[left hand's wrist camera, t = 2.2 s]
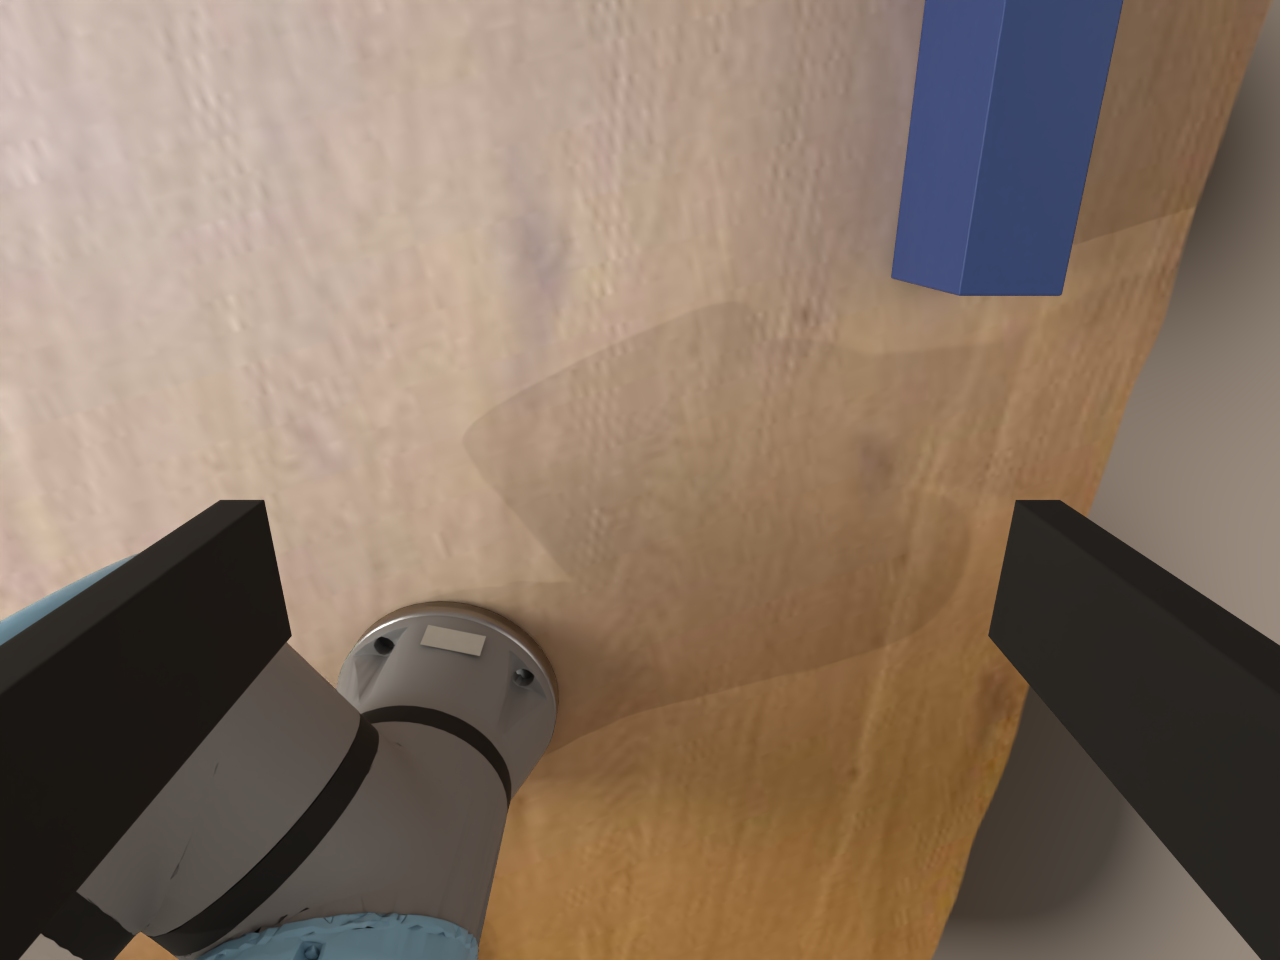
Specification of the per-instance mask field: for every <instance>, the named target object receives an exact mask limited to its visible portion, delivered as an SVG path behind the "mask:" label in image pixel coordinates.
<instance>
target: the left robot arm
mask: <svg viewBox="0 0 1280 960" xmlns="http://www.w3.org/2000/svg"><path fill="white" fill-rule="evenodd" d="M291 636H292V635H291V630H290V625H289V620H288V615H287V610H286V605H285V600H284V595H283V590H282V586H281V581H280V576H279V571H278V566H277V561H276V556H275V551H274V546H273V541H272V536H271V531H270V527H269V522H268V517H267V512H266V507H265V502H264V500H220V501H218V502H217V503H215V504H214V505H212V506H211V507H209V508H207V509H206V510H204V511H203V512H201V513H200V514H198V515H197V516H195V517H194V518H192V519H191V520H189V521H188V522H186V523H185V524H183V525H182V526H180V527H179V528H177V529H176V530H174V531H173V532H171V533H170V534H168V535H167V536H165V537H164V538H162V539H161V540H159V541H158V542H156V543H155V544H153V545H152V546H150V547H149V548H147V549H146V550H144V551H142V552H141V553H139V554H136V555H133V556H130V557H128V558H125V559H123V560H121V561H118V562H116V563H114V564H112V565H109V566H107V567H105V568H103V569H101V570H98V571H96V572H94V573H92V574H90V575H88V576H86V577H84V578H82V579H80V580H78V581H76V582H74V583H72V584H70V585H68V586H66V587H64V588H62V589H60V590H58V591H56V592H54V593H52V594H50V595H48V596H46V597H45V598H43V599H41V600H39V601H37V602H35V603H33V604H31V605H30V606H28V607H26V608H24V609H22V610H20V611H18V612H16V613H15V614H13V615H11V616H9V617H7V618H6V619H4V620H2V621H0V960H114V959H115V958H116V956H117V955H118V954H119V953H120V952H121V951H122V950H123V949H124V948H125V946H126V945H127V944H128V943H129V942H130V941H131V940H132V939H133V937H134V936H136V934H138V933H139V932H140V931H141V932H142V933H144V934H145V935H147V936H148V937H150V938H151V939H153V940H154V941H155V942H157V943H158V944H159V945H161V946H162V947H163V948H165V949H166V950H167V951H169V952H170V953H171V954H172V955H174V956H175V957H176V958H178V959H179V960H477V958H478V951H479V949H478V947H479V942H480V937H481V933H482V928H483V924H484V919H485V914H486V910H487V905H488V901H489V896H490V891H491V887H492V882H493V878H494V873H495V868H496V864H497V859H498V855H499V850H500V846H501V841H502V836H503V832H504V827H505V823H506V817H507V813H508V808H509V804H510V801H511V799H512V798H513V796H514V795H515V794H516V792H517V791H518V789H519V788H520V787H521V785H522V784H523V782H524V781H525V780H526V778H527V777H528V775H529V774H530V772H531V771H532V770H533V768H534V767H535V765H536V764H537V763H538V761H539V760H540V758H541V757H542V755H543V754H544V752H545V750H546V749H547V747H548V745H549V743H550V741H551V738H552V735H553V731H554V727H555V722H556V716H557V711H558V702H559V697H558V686H557V681H556V677H555V674H554V671H553V669H552V666H551V664H550V663H549V661H548V659H547V657H546V655H545V654H544V652H543V651H542V649H541V648H540V647H539V646H538V645H537V643H536V642H535V641H534V640H533V639H532V638H531V637H530V636H529V635H528V634H527V633H526V632H524V631H523V630H522V629H521V628H520V627H518V626H517V625H515V624H514V623H512V622H511V621H509V620H507V619H506V618H504V617H502V616H500V615H498V614H496V613H494V612H491V611H489V610H486V609H483V608H480V607H476V606H473V605H468V604H463V603H456V602H426V603H420V604H415V605H411V606H407V607H404V608H401V609H399V610H396V611H394V612H392V613H390V614H388V615H386V616H384V617H383V618H381V619H380V620H378V621H377V622H376V623H374V624H373V625H372V626H371V627H370V628H369V629H368V630H367V631H366V632H365V633H364V634H363V635H362V636H361V638H360V639H359V640H358V642H357V643H356V645H355V646H354V648H353V649H352V651H351V652H350V654H349V655H348V657H347V658H346V660H345V662H344V664H343V666H342V669H341V672H340V675H339V678H338V683H337V688H336V689H335V688H334V687H333V686H332V685H331V684H330V683H329V682H328V681H327V680H325V679H324V678H323V677H322V676H321V675H320V674H319V673H318V672H317V671H316V670H315V669H314V668H313V667H312V666H311V665H310V664H309V663H308V662H307V661H306V660H305V659H304V658H303V657H301V656H300V655H299V654H298V653H297V652H296V651H295V650H294V649H293V648H292V647H291V646H290V645H289V644H288V643H287V641H288V640H289V638H290V637H291ZM988 636H989V637H990V638H991V640H992V641H993V642H994V643H995V644H996V646H997V647H998V648H999V649H1000V650H1001V651H1002V653H1003V654H1004V655H1005V656H1006V657H1007V659H1008V660H1009V661H1010V662H1011V663H1012V664H1013V666H1014V667H1015V668H1016V669H1017V670H1018V672H1019V673H1020V674H1021V675H1022V676H1023V678H1024V679H1025V680H1026V681H1027V682H1028V683H1029V685H1030V686H1031V687H1032V688H1033V689H1034V691H1035V692H1036V693H1037V694H1038V695H1039V697H1040V698H1041V699H1042V700H1043V701H1044V702H1045V704H1046V705H1047V706H1048V707H1049V708H1050V710H1051V711H1052V712H1053V713H1054V714H1055V716H1056V717H1057V718H1058V719H1059V720H1060V721H1061V723H1062V724H1063V725H1064V726H1065V727H1066V729H1067V730H1068V731H1069V732H1070V733H1071V735H1072V736H1073V737H1074V738H1075V739H1076V740H1077V742H1078V743H1079V744H1080V745H1081V746H1082V748H1083V749H1084V750H1085V751H1086V752H1087V753H1088V755H1089V756H1090V757H1091V758H1092V759H1093V761H1094V762H1095V763H1096V764H1097V765H1098V767H1099V768H1100V769H1101V770H1102V771H1103V772H1104V774H1105V775H1106V776H1107V777H1108V778H1109V780H1110V781H1111V782H1112V783H1113V784H1114V786H1115V787H1116V788H1117V789H1118V790H1119V791H1120V793H1121V794H1122V795H1123V796H1124V797H1125V799H1126V800H1127V801H1128V802H1129V803H1130V805H1131V806H1132V807H1133V808H1134V809H1135V810H1136V812H1137V813H1138V814H1139V815H1140V816H1141V818H1142V819H1143V820H1144V821H1145V822H1146V824H1147V825H1148V826H1149V827H1150V828H1151V829H1152V831H1153V832H1154V833H1155V834H1156V835H1157V837H1158V838H1159V839H1160V840H1161V841H1162V842H1163V844H1164V845H1165V846H1166V847H1167V848H1168V850H1169V851H1170V852H1171V853H1172V854H1173V855H1174V857H1175V858H1176V859H1177V860H1178V861H1179V863H1180V864H1181V865H1182V866H1183V867H1184V868H1185V870H1186V871H1187V872H1188V873H1189V875H1190V876H1191V877H1192V878H1193V879H1194V880H1195V882H1196V883H1197V884H1198V885H1199V886H1200V888H1201V889H1202V890H1203V891H1204V892H1205V893H1206V895H1207V896H1208V897H1209V898H1210V899H1211V901H1212V902H1213V903H1214V904H1215V905H1216V907H1217V908H1218V909H1219V910H1220V911H1221V912H1222V914H1223V915H1224V916H1225V917H1226V918H1227V920H1228V921H1229V922H1230V923H1231V924H1232V926H1233V927H1234V928H1235V929H1236V930H1237V931H1238V933H1239V934H1240V935H1241V936H1242V937H1243V939H1244V940H1245V941H1246V942H1247V943H1248V945H1249V946H1250V947H1251V948H1252V949H1253V950H1254V952H1255V953H1256V954H1257V955H1258V956H1259V958H1260V959H1261V960H1280V645H1278V644H1277V643H1275V642H1274V641H1272V640H1271V639H1269V638H1267V637H1266V636H1265V635H1263V634H1262V633H1260V632H1258V631H1257V630H1255V629H1254V628H1252V627H1251V626H1249V625H1248V624H1246V623H1245V622H1243V621H1242V620H1240V619H1239V618H1237V617H1236V616H1234V615H1233V614H1231V613H1230V612H1228V611H1227V610H1225V609H1224V608H1222V607H1221V606H1219V605H1218V604H1216V603H1215V602H1213V601H1212V600H1210V599H1209V598H1207V597H1206V596H1204V595H1202V594H1201V593H1200V592H1198V591H1196V590H1195V589H1193V588H1192V587H1190V586H1189V585H1187V584H1186V583H1184V582H1183V581H1181V580H1180V579H1178V578H1177V577H1175V576H1174V575H1172V574H1171V573H1169V572H1168V571H1166V570H1165V569H1163V568H1162V567H1160V566H1159V565H1157V564H1156V563H1154V562H1153V561H1151V560H1150V559H1148V558H1147V557H1145V556H1144V555H1142V554H1141V553H1139V552H1137V551H1136V550H1134V549H1133V548H1131V547H1130V546H1128V545H1127V544H1125V543H1124V542H1122V541H1121V540H1119V539H1118V538H1116V537H1115V536H1113V535H1112V534H1110V533H1109V532H1107V531H1106V530H1104V529H1103V528H1101V527H1100V526H1098V525H1097V524H1095V523H1094V522H1092V521H1091V520H1089V519H1088V518H1086V517H1085V516H1083V515H1082V514H1080V513H1079V512H1077V511H1076V510H1074V509H1073V508H1071V507H1069V506H1068V505H1066V504H1065V503H1063V502H1062V501H1060V500H1016V502H1015V507H1014V512H1013V517H1012V522H1011V527H1010V531H1009V536H1008V541H1007V546H1006V551H1005V556H1004V561H1003V566H1002V571H1001V576H1000V581H999V586H998V590H997V595H996V600H995V605H994V610H993V615H992V620H991V625H990V630H989V635H988Z"/></svg>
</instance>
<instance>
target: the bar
mask: <svg viewBox="0 0 1280 960" xmlns="http://www.w3.org/2000/svg"><path fill="white" fill-rule="evenodd" d="M1122 4H1123V0H925V8H924V16H923V24H922V32H921V40H920V49H919V57H918V65H917V73H916V81H915V89H914V97H913V105H912V113H911V122H910V130H909V138H908V146H907V154H906V162H905V170H904V178H903V187H902V195H901V203H900V211H899V219H898V227H897V235H896V243H895V251H894V260H893V268H892V276H891V277H892V278H893V279H897V280H901V281H905V282H909V283H912V284H916V285H920V286H924V287H928V288H932V289H936V290H940V291H943V292H947V293H951V294H955V295H959V296H1060V295H1061V294H1062V291H1063V286H1064V281H1065V276H1066V272H1067V267H1068V262H1069V257H1070V252H1071V248H1072V243H1073V238H1074V233H1075V229H1076V224H1077V219H1078V214H1079V209H1080V205H1081V200H1082V195H1083V190H1084V185H1085V181H1086V176H1087V171H1088V166H1089V162H1090V157H1091V152H1092V147H1093V142H1094V138H1095V133H1096V128H1097V123H1098V119H1099V114H1100V109H1101V104H1102V99H1103V95H1104V90H1105V85H1106V80H1107V76H1108V71H1109V66H1110V61H1111V56H1112V52H1113V47H1114V42H1115V37H1116V32H1117V28H1118V23H1119V18H1120V13H1121V9H1122Z"/></svg>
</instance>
